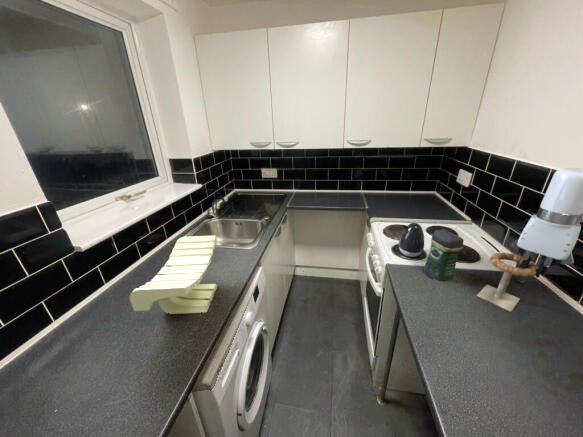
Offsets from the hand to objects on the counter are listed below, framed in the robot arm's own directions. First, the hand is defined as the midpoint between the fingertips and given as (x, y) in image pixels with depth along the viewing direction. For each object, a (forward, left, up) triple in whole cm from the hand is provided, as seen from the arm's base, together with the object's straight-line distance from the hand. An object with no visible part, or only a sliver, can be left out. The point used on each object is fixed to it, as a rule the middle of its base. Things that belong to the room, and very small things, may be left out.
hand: (530, 272), depth 68 cm
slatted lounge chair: (+70, +84, -14) cm, 110 cm away
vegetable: (+3, -17, -14) cm, 22 cm away
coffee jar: (+22, +2, -14) cm, 27 cm away
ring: (+4, 0, +1) cm, 4 cm away
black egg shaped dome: (+37, -4, -14) cm, 40 cm away
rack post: (+4, 0, -14) cm, 15 cm away
